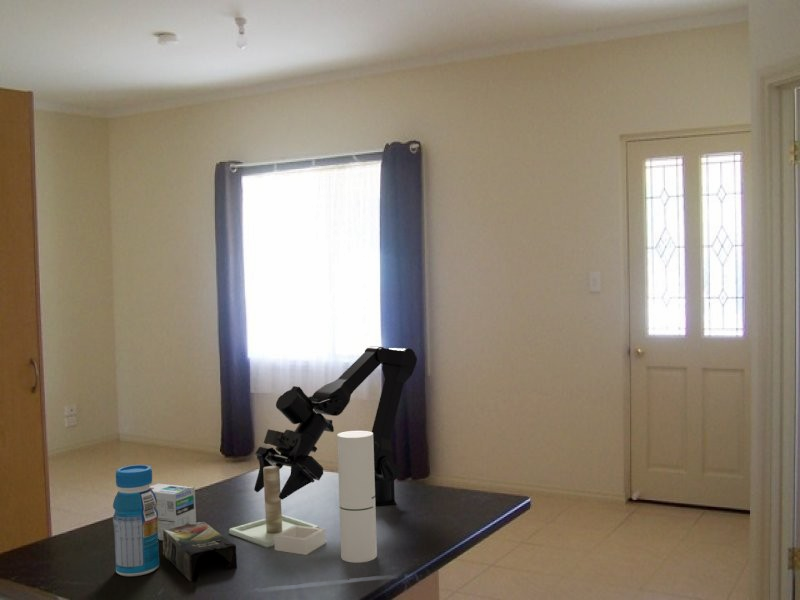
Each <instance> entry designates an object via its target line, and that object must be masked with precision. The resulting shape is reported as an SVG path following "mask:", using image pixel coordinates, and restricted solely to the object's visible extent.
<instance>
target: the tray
mask: <svg viewBox="0 0 800 600" xmlns="http://www.w3.org/2000/svg"><path fill="white" fill-rule="evenodd" d="M294 525H299V526H306V527H314V528H320V526H319V525H317V524H314V523H311V522H307V521H305V520H301V519H298V518H295V517H291V516H289V515H285V514H282V531H281V532H283V531H284V530H286V529H288V528H290V527H292V526H294ZM228 532H229V534H230V535H232V536H236V537H237V538H241V539H243V540H245V541H248V542H251V543H254V544H256V545H259V546H262V547H264V548H270V547H273V546H275V543H274V536H275V535H277V534H279V533H281V532H279V533H273V534H271V533H267V532H266V517H265V518H262V519H259V520H256V521H252V522H248V523H245V524H242V525H238V526H235V527H231V528H229V530H228Z"/></svg>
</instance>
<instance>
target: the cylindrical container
mask: <svg viewBox="0 0 800 600" xmlns="http://www.w3.org/2000/svg"><path fill="white" fill-rule="evenodd" d="M336 436H337V437H336V439H337V441H336V444H337V462H338V463H337V470H338V471H337V472H338V474H337V475H338V497H339V498H338V500H339V501H338V503H339V506H338V507H339V529H340V530H339V533H340V535H339V536H340V557H341V560H343V561H344V562H349V563H367V562H371V561H373V560H374V559H376V558H377V557H378V556H377V555H378V547H377V545H378V543H377V517H376V516H377V514H376V513H377V512H376V507H377V506H375V475H374V443H373V433H372V431H370V430H348V431H343V432H341V431H340V432H338V433H337V435H336Z"/></svg>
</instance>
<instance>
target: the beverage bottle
mask: <svg viewBox="0 0 800 600" xmlns="http://www.w3.org/2000/svg"><path fill="white" fill-rule="evenodd" d="M152 484H153V469H152V467H151V466H150V465H147V464H134V465H133V464H132V465H127V466H123V467H119V468H118V469H116V471H115V485H116V488H117V489H119V490H118V492H117V493H116V495H115V496H114V499H113V504H112V508H113V509H114V513H113V516H112V522H113V531H114V532H113V533H114V534H113V535H114V538H113V539H114V553H115V554H114V555H115V557H114V558H115V560H114V561H115V572H116V573H117V575H120V576H122V577H138V576H143V575H147V574H150V573H153V572H154V571H156V570H157V569H158V568H159V567H160V557H159V555H160V553H159V549H160V548H159V540H158V510H157V509H156V503H157V498H156V496H155V494H154V492H153V490H152V489H151V488H150V486H152Z"/></svg>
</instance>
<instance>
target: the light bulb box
mask: <svg viewBox="0 0 800 600" xmlns="http://www.w3.org/2000/svg"><path fill="white" fill-rule="evenodd" d="M149 487H150V488H151V489H152V490H153V492H154V494H155V496H156V498H157V503H156V509H157V510H158V539H159V540H158V541H163V530H166V529H171V528H174V527H179V526H181V525H185V524H194V523H197V510H196V509H197V508H196V490H195V486H189V485H188V486H186V485H177V484H166V483H165V484H164V483H156V484H153V485H149Z"/></svg>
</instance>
